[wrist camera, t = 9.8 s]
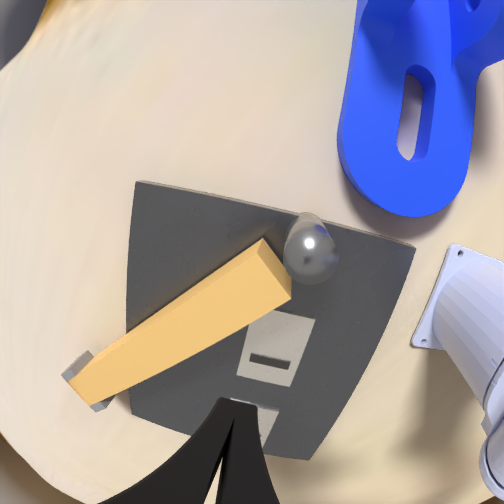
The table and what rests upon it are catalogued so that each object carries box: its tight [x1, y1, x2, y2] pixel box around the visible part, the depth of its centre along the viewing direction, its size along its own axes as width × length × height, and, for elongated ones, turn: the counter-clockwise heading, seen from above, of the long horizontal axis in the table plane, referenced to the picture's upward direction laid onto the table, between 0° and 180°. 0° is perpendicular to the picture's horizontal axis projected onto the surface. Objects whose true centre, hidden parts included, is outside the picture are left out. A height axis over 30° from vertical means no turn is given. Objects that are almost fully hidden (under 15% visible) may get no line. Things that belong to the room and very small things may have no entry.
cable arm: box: [61, 238, 292, 412], centre depth 18 cm, size 20×4×3 cm, turn 127°
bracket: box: [337, 0, 504, 217], centre depth 10 cm, size 18×8×9 cm, turn 169°
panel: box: [126, 181, 416, 460], centre depth 18 cm, size 18×22×6 cm
